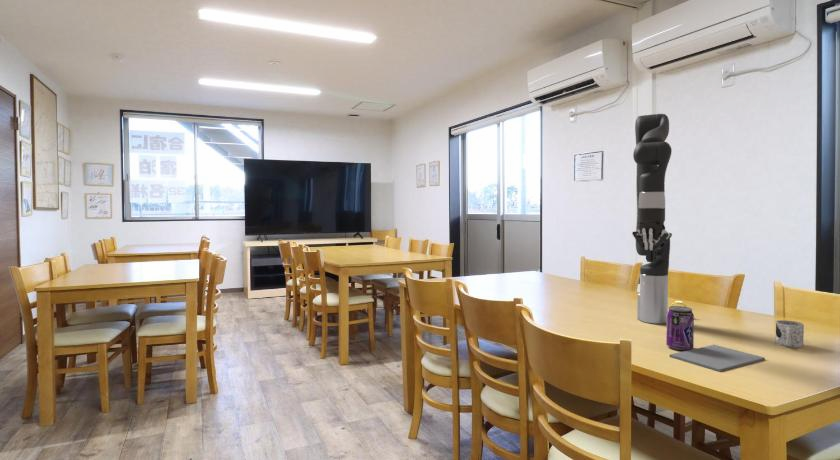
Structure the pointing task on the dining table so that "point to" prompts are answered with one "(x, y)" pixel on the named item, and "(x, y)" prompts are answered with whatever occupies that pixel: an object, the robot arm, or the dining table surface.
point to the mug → (789, 333)
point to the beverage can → (680, 328)
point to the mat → (717, 357)
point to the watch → (679, 303)
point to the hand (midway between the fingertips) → (651, 261)
